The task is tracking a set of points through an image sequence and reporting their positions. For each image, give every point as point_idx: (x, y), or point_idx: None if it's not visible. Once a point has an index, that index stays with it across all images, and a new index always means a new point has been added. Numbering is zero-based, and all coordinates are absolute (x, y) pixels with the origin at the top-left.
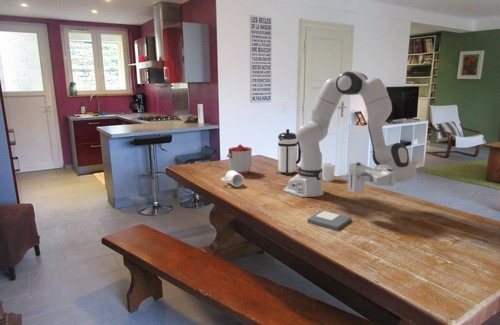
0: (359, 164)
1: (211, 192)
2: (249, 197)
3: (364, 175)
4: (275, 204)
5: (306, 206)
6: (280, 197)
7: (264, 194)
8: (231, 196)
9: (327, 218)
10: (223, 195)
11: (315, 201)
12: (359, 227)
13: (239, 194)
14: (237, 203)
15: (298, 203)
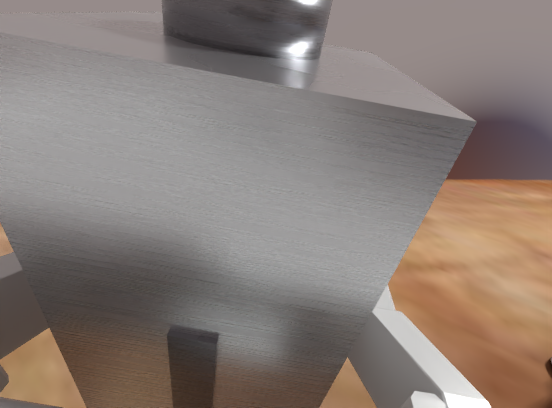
0: (163, 5)
1: (505, 179)
2: (485, 215)
3: (59, 313)
4: (426, 237)
5: (407, 309)
6: (513, 280)
7: (534, 254)
8: (483, 193)
9: None
10: (487, 186)
11: (494, 392)
12: (62, 369)
13: (508, 208)
14: None
15: (445, 301)
